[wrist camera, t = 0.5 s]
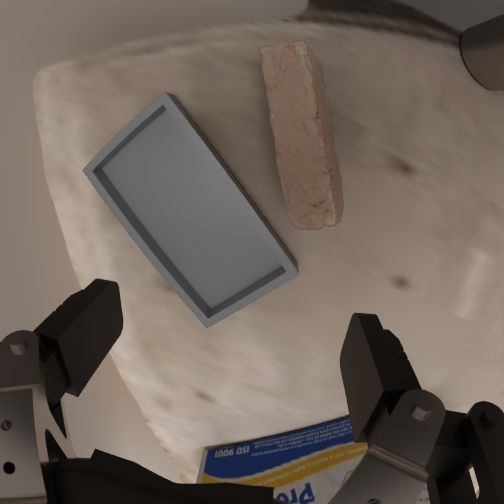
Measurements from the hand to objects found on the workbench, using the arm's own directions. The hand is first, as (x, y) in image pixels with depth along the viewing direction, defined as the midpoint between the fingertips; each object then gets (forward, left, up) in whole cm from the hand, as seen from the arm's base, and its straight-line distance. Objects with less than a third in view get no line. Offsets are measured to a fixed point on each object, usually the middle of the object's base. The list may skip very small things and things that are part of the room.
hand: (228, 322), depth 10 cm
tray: (+8, -3, -25) cm, 26 cm away
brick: (-8, -3, -25) cm, 27 cm away
